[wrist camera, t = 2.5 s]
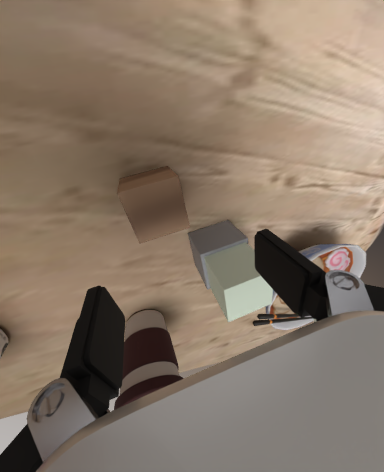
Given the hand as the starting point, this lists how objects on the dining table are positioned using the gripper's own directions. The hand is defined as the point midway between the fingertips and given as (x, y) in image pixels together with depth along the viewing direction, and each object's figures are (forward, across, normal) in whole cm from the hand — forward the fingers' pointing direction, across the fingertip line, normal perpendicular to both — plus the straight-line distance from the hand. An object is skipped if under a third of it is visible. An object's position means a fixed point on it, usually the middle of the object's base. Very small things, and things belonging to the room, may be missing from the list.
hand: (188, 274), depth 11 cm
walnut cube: (+16, +1, 0) cm, 16 cm away
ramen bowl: (+17, -24, +26) cm, 39 cm away
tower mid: (+10, -6, +11) cm, 16 cm away
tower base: (+16, -6, +11) cm, 20 cm away
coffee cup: (+16, +10, +24) cm, 30 cm away
